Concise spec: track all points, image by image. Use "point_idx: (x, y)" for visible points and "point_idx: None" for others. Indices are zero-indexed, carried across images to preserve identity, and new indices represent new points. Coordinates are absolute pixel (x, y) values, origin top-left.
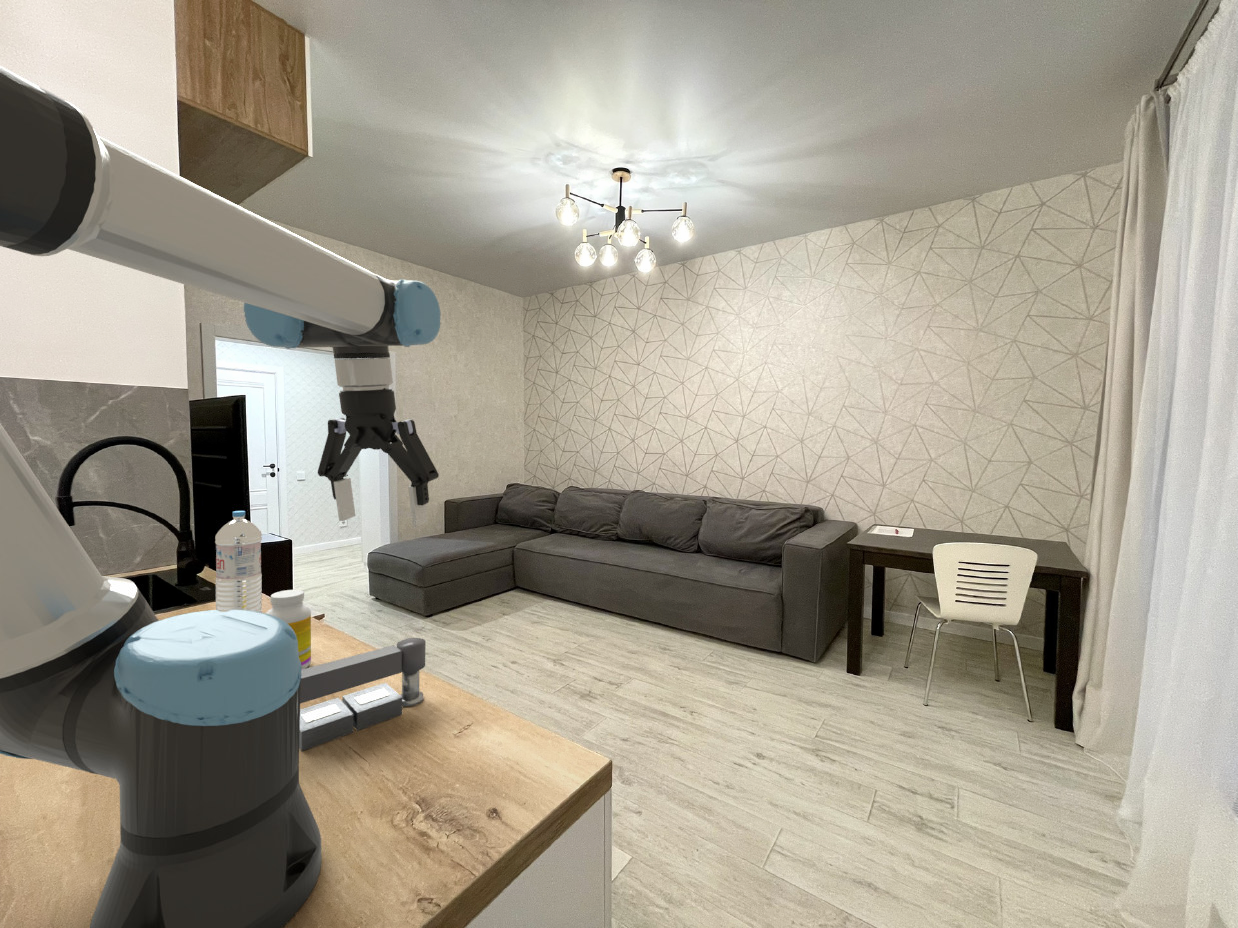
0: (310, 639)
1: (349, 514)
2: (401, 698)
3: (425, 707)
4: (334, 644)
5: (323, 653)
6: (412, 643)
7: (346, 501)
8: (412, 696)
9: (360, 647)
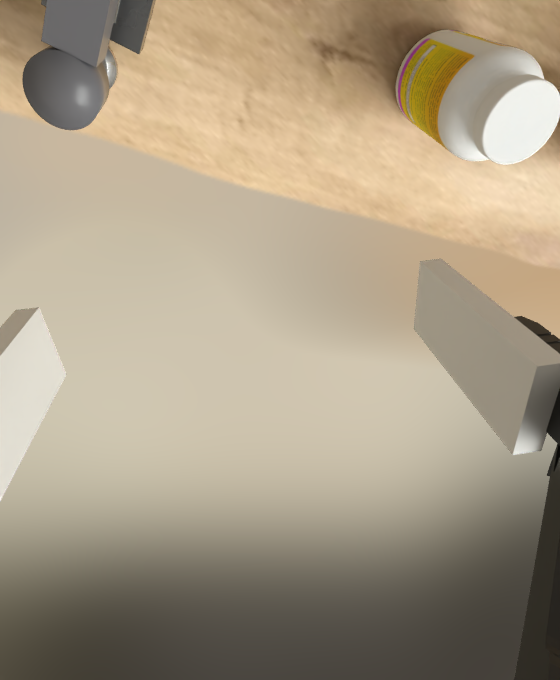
0: (418, 123)
1: (423, 307)
2: (42, 1)
3: (39, 51)
4: (419, 202)
5: (412, 163)
6: (55, 90)
7: (455, 334)
8: None
9: (363, 212)
